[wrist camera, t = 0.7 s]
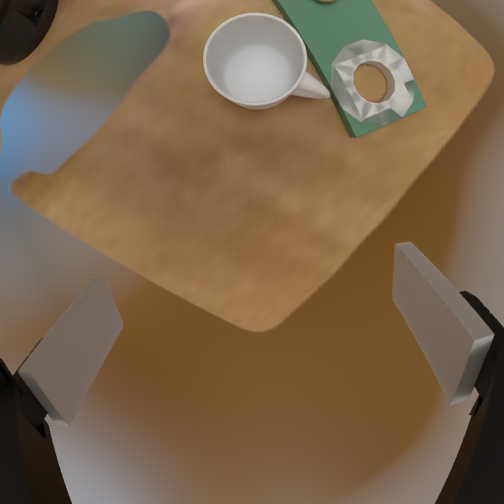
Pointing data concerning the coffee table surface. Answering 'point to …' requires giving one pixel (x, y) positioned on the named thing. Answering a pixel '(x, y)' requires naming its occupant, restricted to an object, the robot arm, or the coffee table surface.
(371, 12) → the putting strip
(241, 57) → the mug
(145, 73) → the coffee table surface
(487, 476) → the robot arm
